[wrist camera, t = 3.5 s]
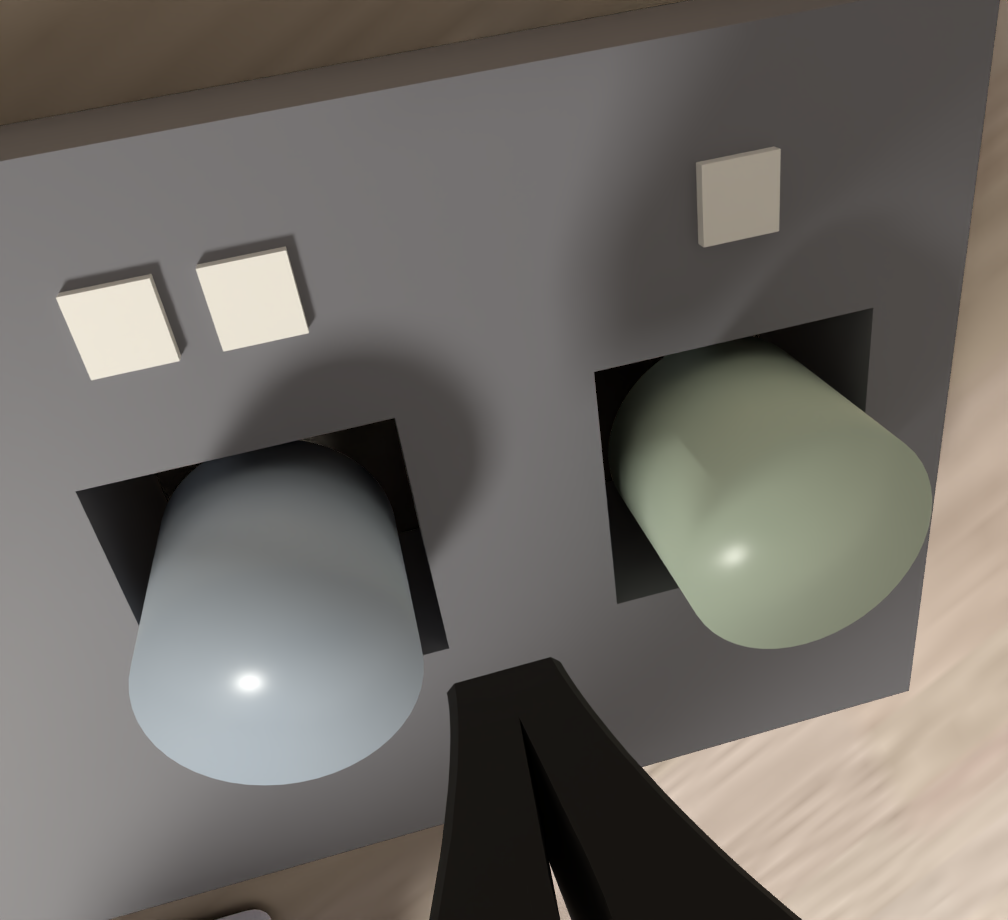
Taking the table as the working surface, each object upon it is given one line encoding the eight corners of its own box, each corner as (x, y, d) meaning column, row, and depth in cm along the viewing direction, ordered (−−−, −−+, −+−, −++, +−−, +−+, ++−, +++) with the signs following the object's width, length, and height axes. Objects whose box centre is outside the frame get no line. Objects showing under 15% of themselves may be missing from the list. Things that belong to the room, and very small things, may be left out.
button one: (807, 499, 18) (918, 612, 15) (616, 548, 17) (690, 676, 14) (815, 313, 16) (946, 398, 12) (598, 362, 15) (680, 464, 12)
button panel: (815, 582, 23) (914, 696, 19) (-159, 842, 20) (-254, 1032, 17) (845, -28, 16) (1013, -26, 12) (-664, 246, 13) (-1024, 355, 9)
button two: (415, 600, 17) (445, 742, 14) (202, 654, 16) (184, 815, 13) (369, 415, 15) (392, 535, 12) (124, 471, 14) (80, 611, 11)
